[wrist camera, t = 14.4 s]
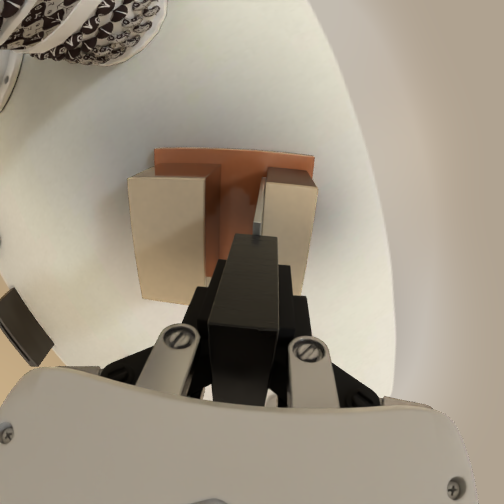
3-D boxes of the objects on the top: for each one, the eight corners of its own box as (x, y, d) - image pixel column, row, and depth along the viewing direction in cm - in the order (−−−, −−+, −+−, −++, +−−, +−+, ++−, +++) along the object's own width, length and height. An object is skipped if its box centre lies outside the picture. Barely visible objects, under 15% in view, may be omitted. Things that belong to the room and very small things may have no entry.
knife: (251, 175, 17) (206, 305, 6) (276, 178, 17) (282, 313, 6) (245, 270, 20) (216, 438, 9) (267, 272, 20) (256, 442, 9)
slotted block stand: (158, 147, 18) (118, 161, 13) (313, 155, 18) (329, 170, 13) (165, 267, 23) (138, 309, 18) (295, 279, 22) (300, 328, 17)
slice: (267, 166, 18) (265, 183, 13) (306, 170, 18) (318, 188, 13) (259, 271, 21) (254, 312, 17) (292, 274, 21) (296, 316, 17)
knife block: (7, 291, 28) (-12, 310, 23) (14, 287, 27) (-7, 307, 22) (46, 345, 32) (30, 366, 27) (54, 344, 31) (38, 366, 27)
